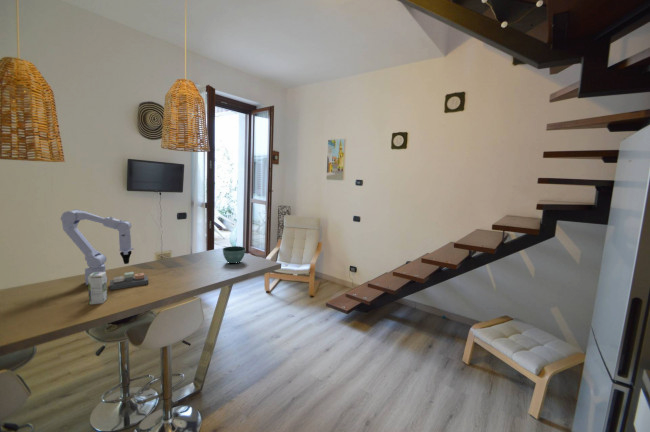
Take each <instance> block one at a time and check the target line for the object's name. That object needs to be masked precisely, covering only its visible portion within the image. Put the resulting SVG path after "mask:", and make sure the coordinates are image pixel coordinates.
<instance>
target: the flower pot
mask: <svg viewBox="0 0 650 432" xmlns="http://www.w3.org/2000/svg"><path fill="white" fill-rule="evenodd" d="M245 252H246V247H244V246H240V245H239V246H237V245H236V246H235V245H234V246H233V245H232V246H231V245H230V246H225V247H223V248H222V254H223V257H224V260H225V261H226V263H227V262H229V263H236V262H240V261H241V262H242V260H243V258H244V257H245ZM241 262H240V263H241Z"/></svg>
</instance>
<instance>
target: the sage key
mask: <svg viewBox="0 0 650 432" xmlns="http://www.w3.org/2000/svg"><path fill="white" fill-rule="evenodd" d="M123 277H124V278H126V282H128V281H133V277H135V273H134V271H129V272H124V275H123Z"/></svg>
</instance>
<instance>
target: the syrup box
mask: <svg viewBox="0 0 650 432" xmlns="http://www.w3.org/2000/svg"><path fill="white" fill-rule="evenodd" d="M106 278H107V271H106V272H95V273H92V274H91V275H89V276H88V285H87V287H88V288H87V289H88V304H89V305H99V304H104V303H105V302H106V300H108V287H107V286H108V285H107V282H108V281H107V282H106Z"/></svg>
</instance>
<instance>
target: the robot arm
mask: <svg viewBox="0 0 650 432" xmlns="http://www.w3.org/2000/svg"><path fill="white" fill-rule="evenodd" d="M83 220H87V221H92V222H94V223H95V222H96V223H98V224H99V223H100V224H102V226H103V227H106V228H110V229H114V230H117V231H118V239H119V241H118V244H119V249H118V250H119V254H120V256H121V258H122V261H123V264H124V265H129V263H130V258H131V255H132V250H135V247H132V235H131V228H132V223H131V222H130V221H128V220H124V221H123V219H117V218H115V217H114V216H110V217H109V216H107V217H103V216H99V215H97V214H93V213H90V212H88V211H85V210H80V209H73V210H67V211H65V212H63V213H62V214H61V216H60V221H61V223H62V225H61V226H62V229H63V231H64V233H66V235H67V236H68V237H69V238H70V239H71V241H72V242H73V243H74V244H75V246H77V248H78V249H79V250H80V251H81V252H82V253H83V255H84V260H85V261H86V264H87V268H84V281H85V286H88V276H89V275H91V274H92V273H95V272H106V273H107V271H106V264H105V263H106V261H107V256H106V255H105V254H102V252H101V251H98V250H96V249H95V248H94V246H92V243H90V242H89V240H87V238H86V237H85V236H84V234H83V233H82V232H81V231H80V230H79V228H78V226H79V225H78V224H79V223H80V221H83ZM106 282H108V277H106Z"/></svg>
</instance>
